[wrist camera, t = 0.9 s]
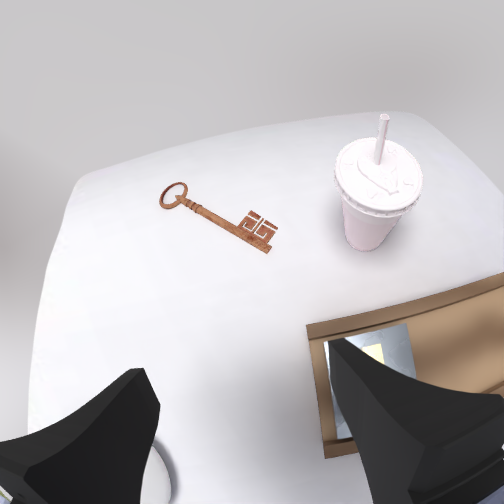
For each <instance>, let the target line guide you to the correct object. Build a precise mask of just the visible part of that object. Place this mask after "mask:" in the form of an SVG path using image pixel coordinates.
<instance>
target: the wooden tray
mask: <svg viewBox="0 0 504 504" xmlns="http://www.w3.org/2000/svg"><path fill="white" fill-rule="evenodd" d="M403 323H406V324H407V328H408V333H409V338H410V343H411V348H412V354H413V359H414V365H415V371H416V378H417V380H419V381H422V382H425V383H428V384H431V385H435V386H438V387H442V388H446V389H451V390H456V391H463V392H469V393H483V394H500V395H501V396H502V397H503V398H504V272H502V273H500V274H497V275H494V276H491V277H488V278H485V279H482V280H479V281H476V282H473V283H470V284H467V285H464V286H461V287H458V288H454V289H451V290H448V291H445V292H441V293H438V294H434V295H431V296H428V297H424V298H420V299H417V300H413V301H409V302H406V303H402V304H398V305H394V306H390V307H386V308H382V309H378V310H374V311H370V312H365V313H361V314H357V315H352V316H347V317H343V318H338V319H333V320H329V321H324V322H319V323H313V324H308V325H306V328H307V334H308V340H309V345H310V352H311V358H312V365H313V371H314V378H315V385H316V392H317V399H318V406H319V414H320V421H321V429H322V437H323V447H324V455H325V459H327V458H333V457H338V456H343V455H348V454H353V453H358V452H359V451H358V448H357V446H356V443H355V441H354V439H353V437H348V438H343V439H337V436H336V430H335V422H334V414H333V407H332V400H331V392H330V386H329V379H328V372H327V366H326V359H325V353H324V347H323V343H324V342H327V341H330V340H334V339H339V338H343V337H344V338H346V337H350V336H355V335H359V334H364V333H368V332H372V331H376V330H380V329H384V328H388V327H392V326H395V325H399V324H403Z"/></svg>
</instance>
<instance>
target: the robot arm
mask: <svg viewBox="0 0 504 504" xmlns="http://www.w3.org/2000/svg"><path fill="white" fill-rule="evenodd" d="M328 350H329V365H330V382H331V385H332V389H333V392H334V395H335V398H336V402H337V404H338V406H339V409H340V411H341V413H342V415H343V417H344V420H345V422H346V424H347V426H348V428H349V430H350V433H351V435H352V437H353V439H354V441H355V443H356V446H357V448H358V451H359V453H360V457H361V460H362V463H363V466H364V470H365V473H366V477H367V480H368V484H369V487H370V491H371V495H372V499H373V503H374V504H504V460H503V459H504V450H503V449H502V448H501V447H502V446H503V444H504V398H503V397H502V396H501V395H500V394H483V393H469V392H463V391H456V390H451V389H446V388H442V387H438V386H435V385H431V384H428V383H425V382H422V381H419V380H416V379H414V378H411V377H409V376H406V375H404V374H402V373H400V372H398V371H396V370H394V369H392V368H390V367H388V366H386V365H385V364H383V363H381V362H379V361H378V360H376V359H374V358H373V357H371V356H370V355H368V354H367V353H365V352H364V351H362V350H361V349H359V348H358V347H357V346H355V345H354V344H352V343H351V342H349V341H348V340H347V339H345V338H344V337H343V338H339V339H334V340H330V341H328ZM159 413H160V403H159V401H158V399H157V397H156V394H155V392H154V390H153V388H152V386H151V384H150V381H149V379H148V377H147V375H146V372H145V370H144V368H134V369H129V370H128V371H126V372H125V373H124V374H122V375H121V376H120V377H119V378H117V379H116V380H115V381H114V382H113V383H111V384H110V385H109V386H108V387H106V388H105V389H104V390H103V391H102V392H100V393H99V394H98V395H97V396H95V397H94V398H93V399H91V400H90V401H89V402H87V403H86V404H85V405H83V406H82V407H81V408H79V409H78V410H77V411H75V412H74V413H72V414H70V415H69V416H67V417H65V418H64V419H62V420H60V421H59V422H57V423H55V424H52V425H50V426H48V427H46V428H44V429H42V430H40V431H37V432H35V433H32V434H29V435H26V436H23V437H20V438H16V439H12V440H8V441H3V442H0V486H1V487H2V488H3V489H4V490H6V492H8V493H9V494H10V495H11V496H12V497H13V499H12V501H11V502H10V501H9V500H7V499H6V498H4V497H3V496H1V495H0V504H140V499H141V489H142V482H143V475H144V471H145V467H146V463H147V460H148V457H149V453H150V450H151V447H152V443H153V440H154V436H155V433H156V430H157V426H158V420H159Z"/></svg>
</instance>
